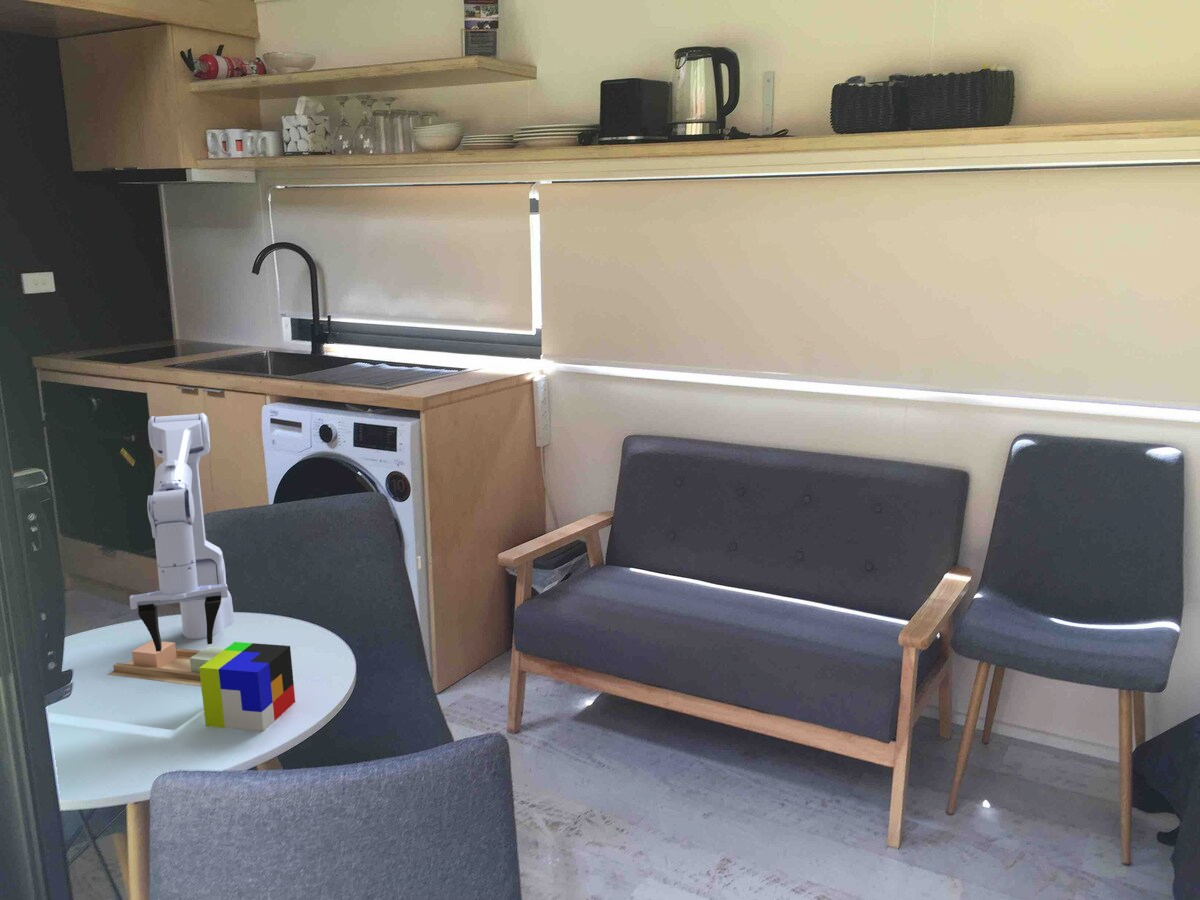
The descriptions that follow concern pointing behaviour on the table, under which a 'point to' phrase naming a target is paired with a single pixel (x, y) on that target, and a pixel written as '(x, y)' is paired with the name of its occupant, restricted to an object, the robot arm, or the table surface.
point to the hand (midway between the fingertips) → (184, 646)
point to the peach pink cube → (154, 654)
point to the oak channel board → (171, 667)
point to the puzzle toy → (247, 686)
